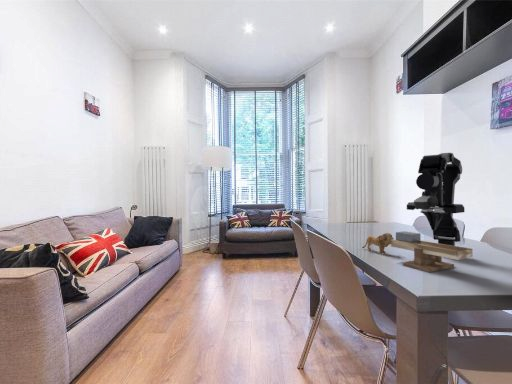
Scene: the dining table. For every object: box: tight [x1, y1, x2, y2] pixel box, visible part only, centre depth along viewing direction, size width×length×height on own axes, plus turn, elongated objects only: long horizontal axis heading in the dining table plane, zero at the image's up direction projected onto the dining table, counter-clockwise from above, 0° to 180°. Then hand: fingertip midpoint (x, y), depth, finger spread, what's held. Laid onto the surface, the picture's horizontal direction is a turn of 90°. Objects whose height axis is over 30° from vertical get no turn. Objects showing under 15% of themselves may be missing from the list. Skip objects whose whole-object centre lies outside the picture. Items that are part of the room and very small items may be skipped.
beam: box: [390, 239, 474, 261], centre depth 106 cm, size 8×25×3 cm, turn 25°
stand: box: [402, 248, 455, 273], centre depth 106 cm, size 14×10×7 cm
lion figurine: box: [361, 232, 395, 255], centre depth 130 cm, size 15×5×9 cm, turn 37°
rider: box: [395, 231, 422, 244], centre depth 113 cm, size 5×7×4 cm
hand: (433, 230), depth 109 cm, fingers closed
